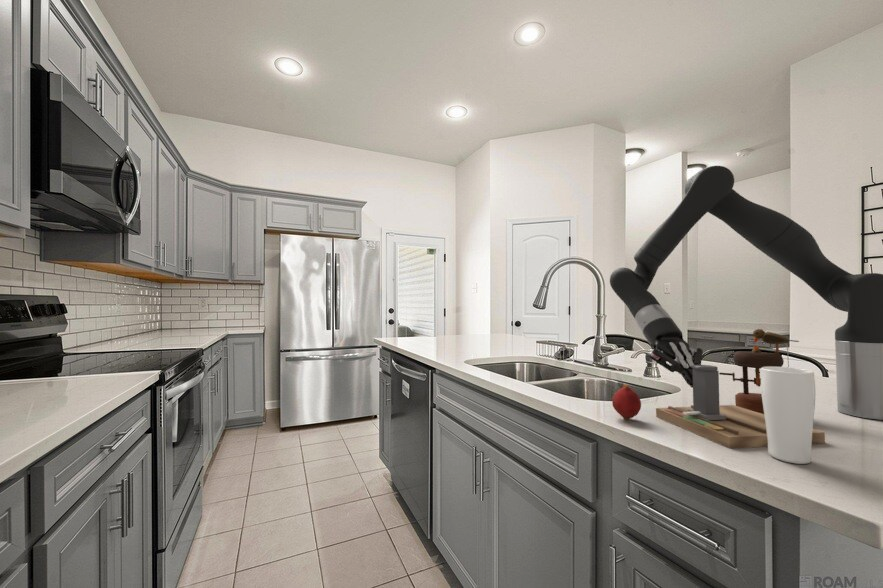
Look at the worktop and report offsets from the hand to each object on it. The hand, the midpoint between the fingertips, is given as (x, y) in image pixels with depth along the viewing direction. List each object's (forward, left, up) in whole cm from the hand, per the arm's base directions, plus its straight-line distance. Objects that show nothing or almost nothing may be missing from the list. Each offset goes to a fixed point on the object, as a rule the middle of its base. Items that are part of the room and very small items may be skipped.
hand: (697, 385), depth 81 cm
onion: (+14, -5, -8) cm, 17 cm away
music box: (-21, -6, -9) cm, 24 cm away
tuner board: (-4, +4, -8) cm, 10 cm away
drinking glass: (0, +18, -8) cm, 20 cm away
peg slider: (+2, +2, -6) cm, 7 cm away
